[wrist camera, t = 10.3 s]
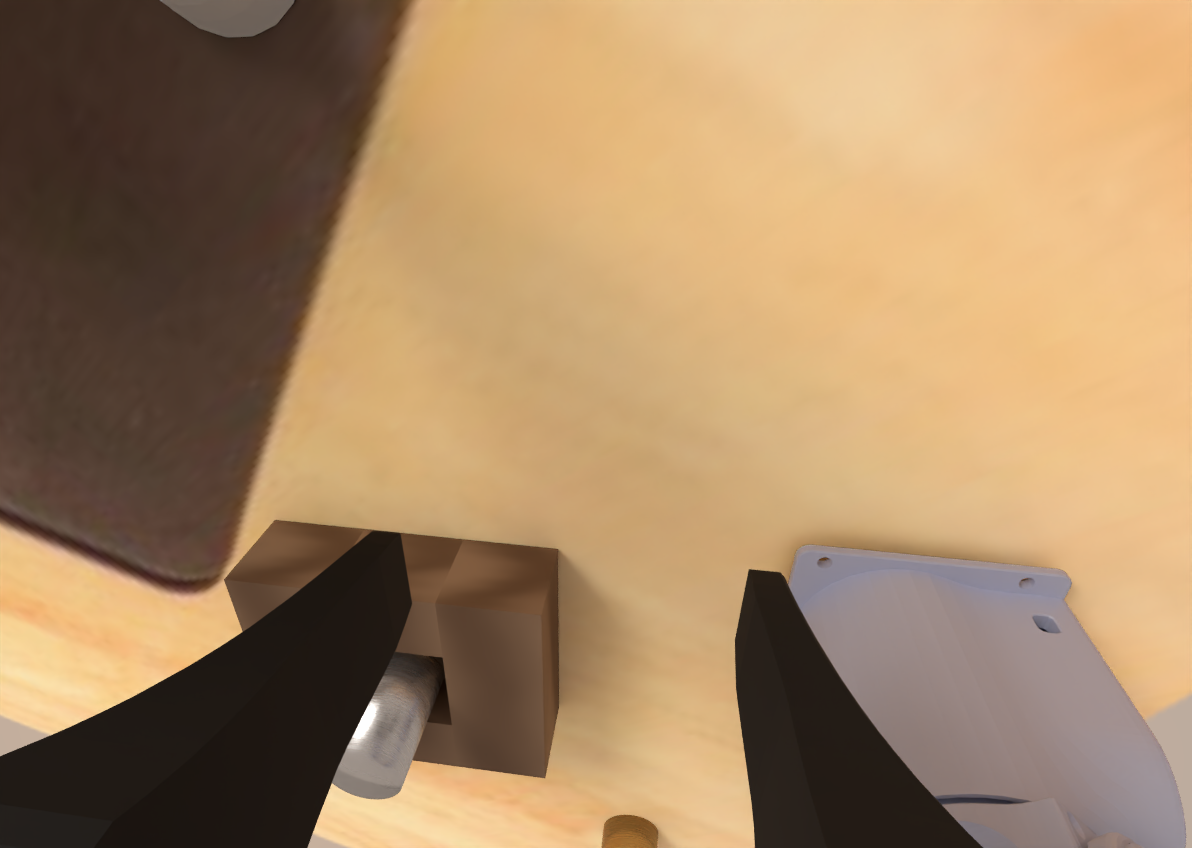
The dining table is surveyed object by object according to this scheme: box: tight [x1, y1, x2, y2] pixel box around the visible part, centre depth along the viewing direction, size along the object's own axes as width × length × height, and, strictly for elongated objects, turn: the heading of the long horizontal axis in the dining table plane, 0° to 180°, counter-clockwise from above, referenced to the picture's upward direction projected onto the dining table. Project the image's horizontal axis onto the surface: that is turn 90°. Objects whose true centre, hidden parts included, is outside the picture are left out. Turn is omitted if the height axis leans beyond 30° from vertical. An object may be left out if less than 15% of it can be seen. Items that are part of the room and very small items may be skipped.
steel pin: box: [332, 652, 445, 799], centre depth 27 cm, size 3×3×7 cm
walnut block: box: [224, 520, 559, 778], centre depth 28 cm, size 12×10×4 cm
